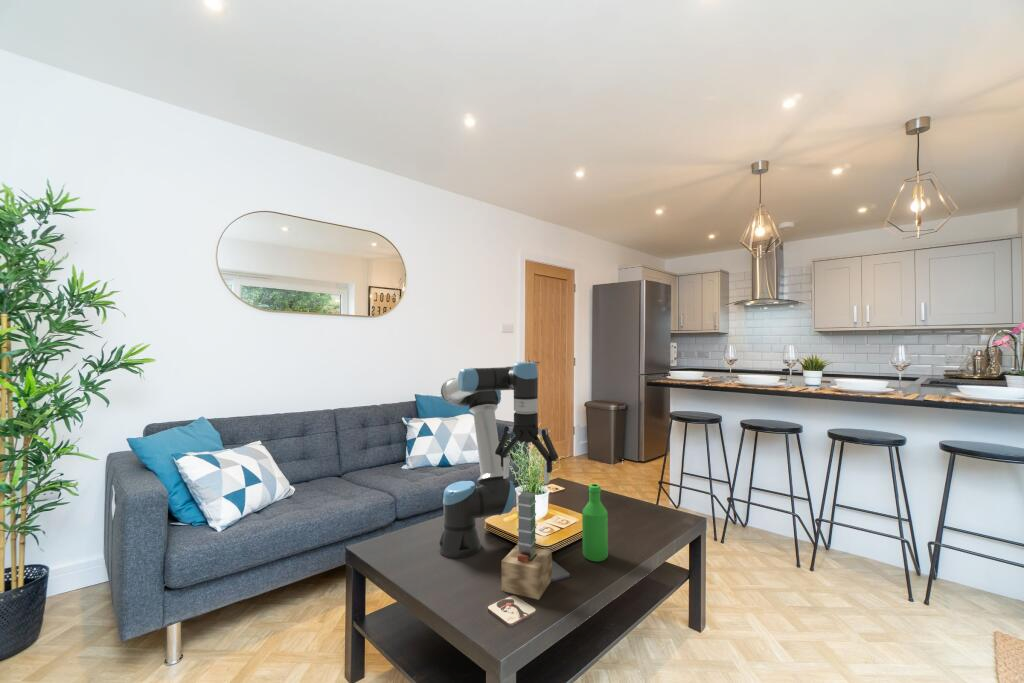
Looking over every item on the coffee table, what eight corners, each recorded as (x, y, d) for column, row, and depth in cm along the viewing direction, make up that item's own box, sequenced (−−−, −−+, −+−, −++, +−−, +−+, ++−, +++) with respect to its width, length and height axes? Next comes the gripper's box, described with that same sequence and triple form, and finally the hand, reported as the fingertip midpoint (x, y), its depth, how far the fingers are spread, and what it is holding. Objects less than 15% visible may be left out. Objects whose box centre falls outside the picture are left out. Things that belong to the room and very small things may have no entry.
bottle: (608, 563, 150) (607, 490, 150) (582, 561, 151) (581, 488, 152) (607, 551, 158) (607, 482, 158) (583, 549, 160) (582, 480, 160)
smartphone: (547, 555, 155) (571, 574, 142) (547, 558, 155) (571, 577, 142) (528, 560, 152) (551, 580, 138) (528, 563, 152) (551, 583, 138)
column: (517, 567, 136) (517, 495, 136) (523, 561, 140) (522, 491, 140) (531, 570, 134) (530, 497, 134) (536, 563, 138) (535, 493, 138)
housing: (501, 590, 134) (501, 555, 134) (517, 572, 145) (517, 539, 145) (538, 599, 129) (538, 563, 129) (552, 579, 140) (551, 546, 140)
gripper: (484, 411, 139) (485, 478, 139) (560, 416, 129) (560, 489, 129) (495, 407, 146) (495, 472, 146) (567, 412, 136) (568, 481, 136)
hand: (526, 480), depth 137 cm, fingers open, 13 cm apart
